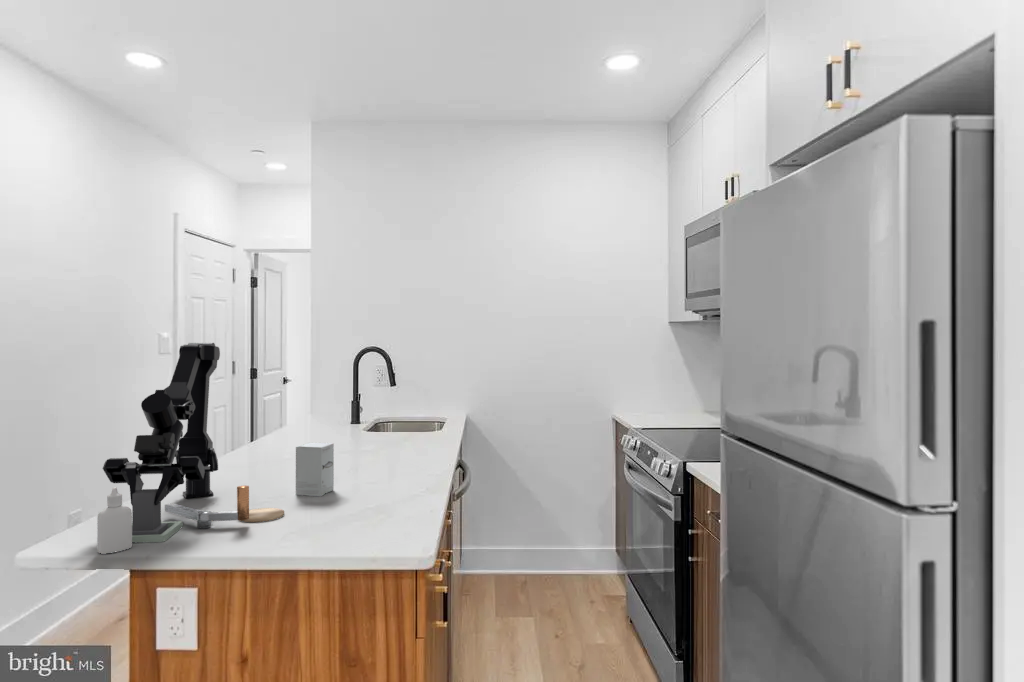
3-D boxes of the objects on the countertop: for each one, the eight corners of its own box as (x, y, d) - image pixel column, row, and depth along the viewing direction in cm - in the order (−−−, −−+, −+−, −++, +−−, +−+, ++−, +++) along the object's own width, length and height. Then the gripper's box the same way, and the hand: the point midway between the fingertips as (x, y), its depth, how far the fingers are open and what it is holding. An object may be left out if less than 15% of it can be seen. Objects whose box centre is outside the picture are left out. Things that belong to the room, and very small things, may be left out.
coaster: (233, 514, 154) (233, 511, 154) (278, 508, 160) (278, 505, 160) (242, 524, 146) (242, 522, 146) (289, 518, 151) (289, 515, 151)
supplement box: (321, 496, 171) (321, 447, 171) (294, 495, 173) (294, 446, 172) (334, 490, 178) (334, 442, 178) (309, 489, 180) (308, 441, 180)
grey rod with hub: (251, 524, 145) (251, 486, 145) (218, 533, 139) (218, 493, 139) (194, 510, 157) (194, 475, 157) (162, 518, 151) (162, 481, 151)
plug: (137, 531, 141) (137, 488, 141) (167, 530, 142) (167, 487, 142) (125, 539, 135) (124, 495, 135) (156, 538, 136) (156, 494, 136)
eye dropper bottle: (100, 549, 130) (99, 486, 129) (133, 545, 132) (132, 484, 132) (95, 555, 126) (95, 491, 125) (130, 552, 128) (129, 489, 128)
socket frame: (130, 528, 143) (130, 523, 143) (182, 526, 145) (182, 521, 145) (108, 543, 133) (108, 537, 133) (164, 541, 134) (164, 535, 134)
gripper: (106, 420, 141) (80, 484, 130) (200, 418, 144) (182, 481, 133) (123, 451, 149) (100, 514, 138) (211, 449, 151) (195, 510, 141)
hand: (144, 504), depth 137 cm, fingers closed on plug, 4 cm apart
